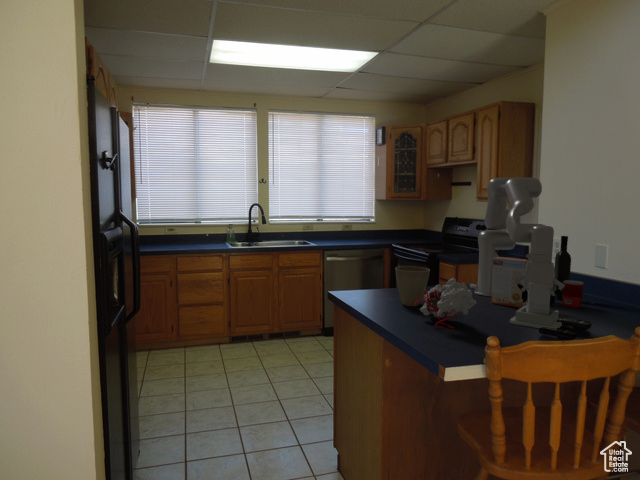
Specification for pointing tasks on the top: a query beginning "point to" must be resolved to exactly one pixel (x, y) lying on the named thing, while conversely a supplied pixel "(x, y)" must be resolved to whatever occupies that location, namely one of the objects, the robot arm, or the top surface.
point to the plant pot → (411, 283)
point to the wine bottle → (562, 266)
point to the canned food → (572, 294)
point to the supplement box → (538, 299)
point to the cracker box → (507, 281)
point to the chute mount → (536, 319)
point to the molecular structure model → (447, 300)
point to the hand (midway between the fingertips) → (537, 303)
